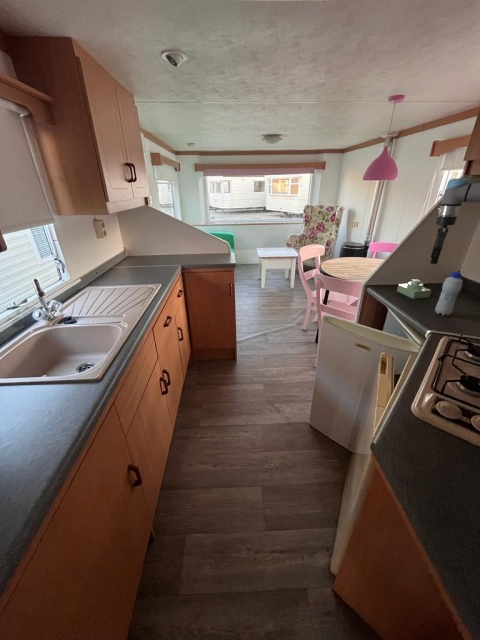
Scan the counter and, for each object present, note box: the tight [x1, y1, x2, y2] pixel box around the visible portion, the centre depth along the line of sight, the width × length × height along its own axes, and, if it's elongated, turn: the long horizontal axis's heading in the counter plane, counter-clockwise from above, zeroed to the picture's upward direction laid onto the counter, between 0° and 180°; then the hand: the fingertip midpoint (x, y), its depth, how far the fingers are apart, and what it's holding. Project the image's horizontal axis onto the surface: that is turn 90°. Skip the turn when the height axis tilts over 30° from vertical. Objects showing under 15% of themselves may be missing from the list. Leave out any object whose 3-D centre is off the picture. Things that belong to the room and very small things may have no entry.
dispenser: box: [396, 281, 432, 300], centre depth 145 cm, size 12×10×6 cm
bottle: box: [434, 271, 464, 317], centre depth 119 cm, size 7×7×20 cm
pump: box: [410, 278, 422, 285], centre depth 143 cm, size 4×4×2 cm
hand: (433, 260), depth 134 cm, fingers open, 13 cm apart
